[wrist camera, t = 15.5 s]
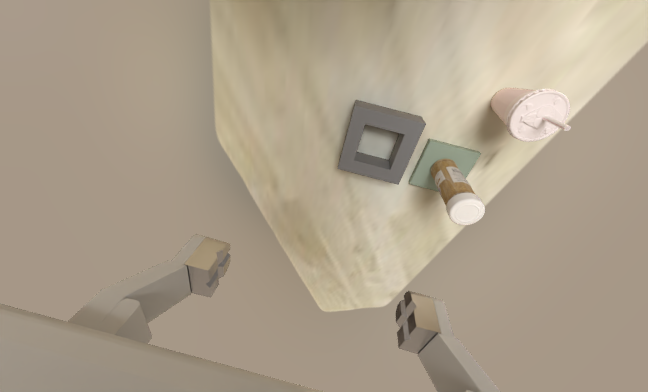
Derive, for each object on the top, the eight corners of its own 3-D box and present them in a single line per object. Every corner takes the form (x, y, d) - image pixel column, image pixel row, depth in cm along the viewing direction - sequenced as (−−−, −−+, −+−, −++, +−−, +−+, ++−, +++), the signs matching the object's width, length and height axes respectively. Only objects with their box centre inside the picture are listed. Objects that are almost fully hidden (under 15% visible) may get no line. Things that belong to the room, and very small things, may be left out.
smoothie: (521, 118, 40) (584, 154, 28) (477, 122, 41) (520, 157, 30) (534, 75, 36) (610, 94, 25) (485, 80, 38) (537, 101, 26)
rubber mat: (429, 138, 44) (430, 140, 43) (478, 151, 44) (481, 153, 43) (408, 181, 49) (409, 183, 48) (453, 192, 49) (454, 195, 48)
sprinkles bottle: (424, 168, 46) (442, 211, 35) (447, 152, 44) (474, 193, 32) (439, 184, 47) (461, 231, 36) (462, 169, 45) (492, 215, 34)
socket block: (356, 99, 42) (354, 105, 39) (421, 116, 42) (425, 123, 39) (339, 159, 48) (337, 168, 45) (396, 174, 48) (398, 184, 45)
